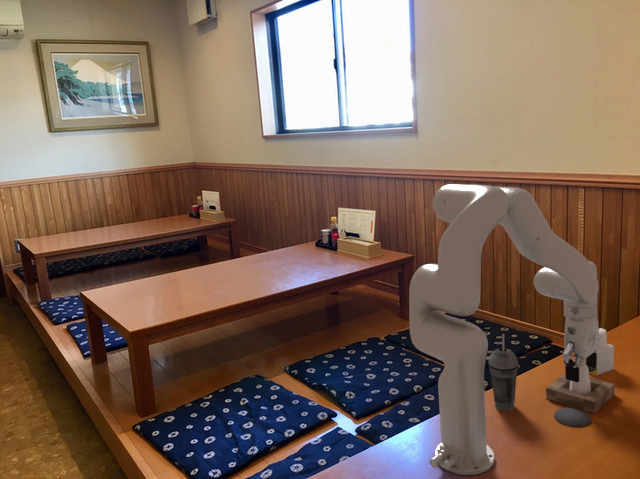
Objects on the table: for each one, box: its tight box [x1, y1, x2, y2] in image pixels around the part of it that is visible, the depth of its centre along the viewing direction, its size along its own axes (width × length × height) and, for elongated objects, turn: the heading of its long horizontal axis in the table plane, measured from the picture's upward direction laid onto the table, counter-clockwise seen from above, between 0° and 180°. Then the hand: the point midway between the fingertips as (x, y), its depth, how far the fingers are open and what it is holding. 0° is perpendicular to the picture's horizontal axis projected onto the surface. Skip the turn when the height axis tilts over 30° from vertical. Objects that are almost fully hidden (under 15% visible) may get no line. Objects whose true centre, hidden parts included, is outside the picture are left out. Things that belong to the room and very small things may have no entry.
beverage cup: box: [487, 333, 520, 412], centre depth 137 cm, size 7×7×20 cm
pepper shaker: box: [569, 358, 591, 395], centre depth 139 cm, size 5×5×11 cm
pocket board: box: [545, 373, 616, 414], centre depth 140 cm, size 12×12×3 cm
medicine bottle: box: [575, 326, 615, 376], centre depth 154 cm, size 7×7×12 cm
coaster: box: [554, 407, 592, 428], centre depth 131 cm, size 8×8×1 cm
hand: (581, 373), depth 139 cm, fingers open, 9 cm apart
